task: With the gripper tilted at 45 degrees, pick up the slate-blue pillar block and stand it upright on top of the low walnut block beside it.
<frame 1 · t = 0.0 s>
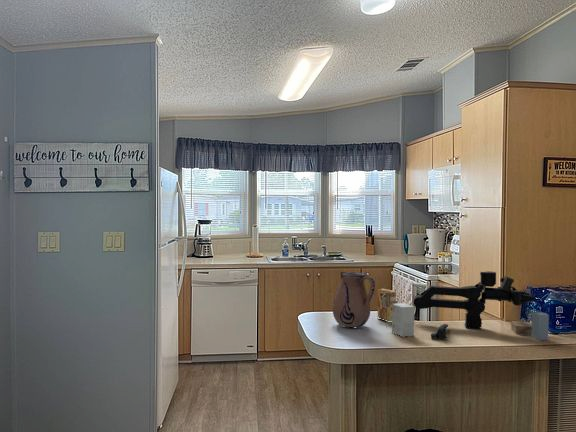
hand: (532, 296, 206), 17 cm above the table, tool horizontal, fingers open, 9 cm apart
ceramic pitcher: (354, 327, 210), on the table
small box: (402, 334, 198), on the table
pillar: (539, 338, 196), on the table
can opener: (442, 336, 197), on the table
candy box: (386, 321, 223), on the table
base block: (524, 332, 206), on the table
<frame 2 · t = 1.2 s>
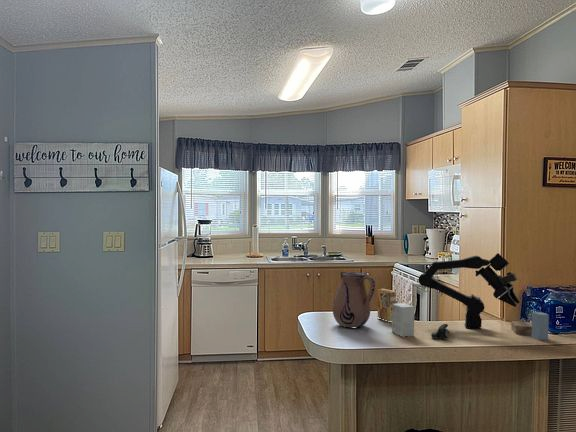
hand: (517, 304, 203), 13 cm above the table, tool tilted 45°, fingers open, 9 cm apart
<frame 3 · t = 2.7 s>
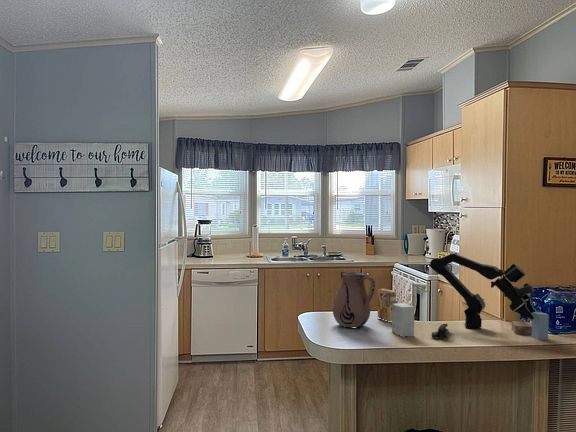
hand: (535, 317, 197), 9 cm above the table, tool tilted 45°, fingers open, 9 cm apart
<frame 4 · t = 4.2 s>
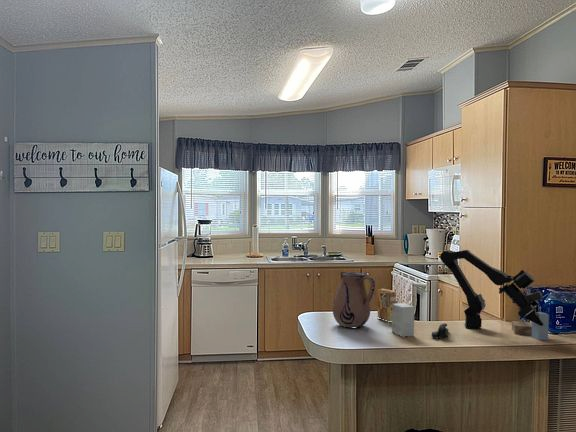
hand: (543, 323, 195), 7 cm above the table, tool tilted 45°, fingers closed on pillar, 6 cm apart
pillar: (539, 338, 196), on the table, touching gripper
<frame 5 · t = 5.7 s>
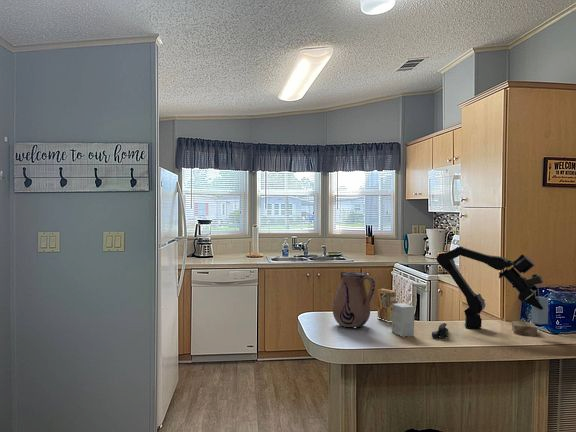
hand: (543, 308, 195), 13 cm above the table, tool tilted 45°, fingers closed on pillar, 6 cm apart
pillar: (539, 322, 196), point 7 cm above the table, touching gripper
when the fingers open (12 cm above the table, at t = 7.4 s): pillar drops 2 cm, resting on base block.
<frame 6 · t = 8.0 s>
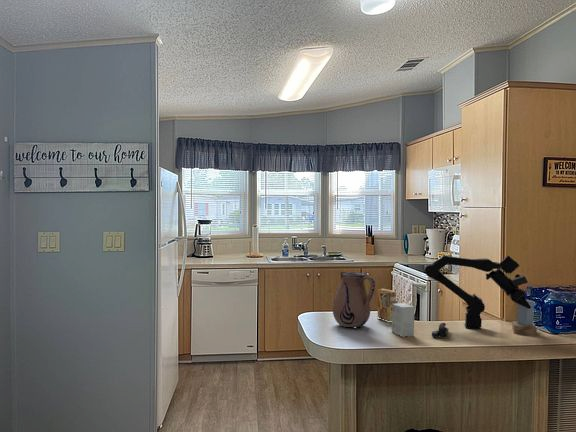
hand: (528, 306, 206), 12 cm above the table, tool tilted 45°, fingers open, 9 cm apart
pillar: (524, 324, 206), point 4 cm above the table, touching base block
base block: (524, 333, 206), on the table, touching pillar
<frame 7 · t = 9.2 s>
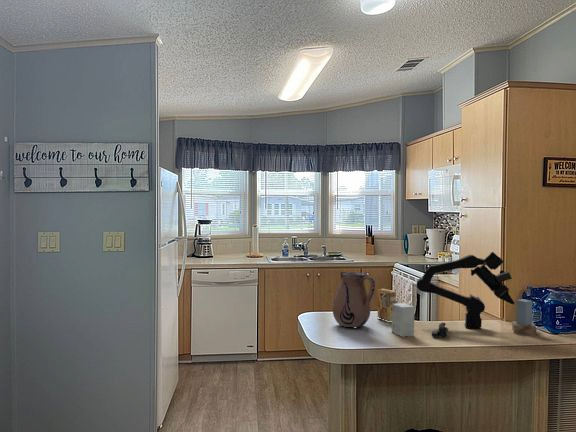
hand: (512, 301, 208), 13 cm above the table, tool tilted 45°, fingers open, 9 cm apart
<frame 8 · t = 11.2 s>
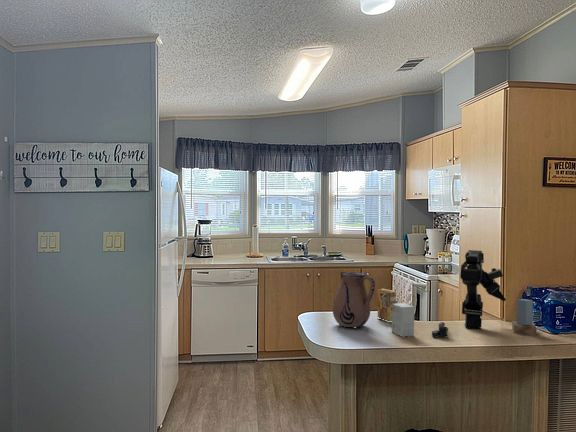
hand: (503, 298, 215), 14 cm above the table, tool tilted 45°, fingers open, 9 cm apart
pillar: (524, 324, 206), point 4 cm above the table
base block: (523, 332, 206), on the table
at the end: pillar 0.3 cm off-centre on the base block, point 4.2 cm above the base block's base; pillar tilted 3°; the gripper is holding nothing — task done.
